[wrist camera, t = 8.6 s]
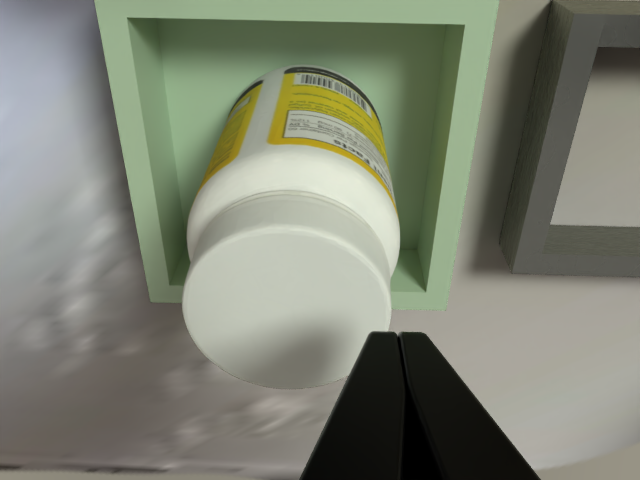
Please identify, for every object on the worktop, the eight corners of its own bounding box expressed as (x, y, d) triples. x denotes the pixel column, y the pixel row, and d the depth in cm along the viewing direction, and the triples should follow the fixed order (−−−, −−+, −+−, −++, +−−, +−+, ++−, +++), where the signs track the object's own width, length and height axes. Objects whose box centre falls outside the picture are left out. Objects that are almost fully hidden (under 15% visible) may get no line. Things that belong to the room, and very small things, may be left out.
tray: (474, -28, 16) (500, -7, 13) (433, 256, 21) (446, 310, 18) (130, -35, 16) (91, -16, 13) (172, 249, 21) (150, 302, 19)
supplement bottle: (260, 220, 20) (216, 422, 13) (202, 89, 17) (107, 248, 10) (399, 182, 19) (435, 378, 12) (359, 38, 16) (374, 176, 9)
